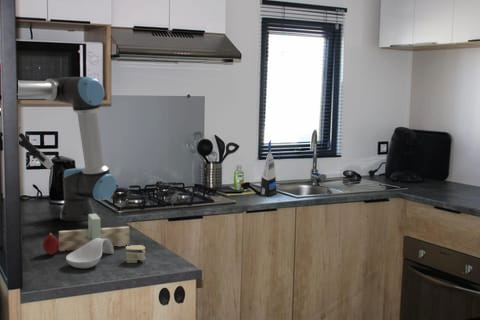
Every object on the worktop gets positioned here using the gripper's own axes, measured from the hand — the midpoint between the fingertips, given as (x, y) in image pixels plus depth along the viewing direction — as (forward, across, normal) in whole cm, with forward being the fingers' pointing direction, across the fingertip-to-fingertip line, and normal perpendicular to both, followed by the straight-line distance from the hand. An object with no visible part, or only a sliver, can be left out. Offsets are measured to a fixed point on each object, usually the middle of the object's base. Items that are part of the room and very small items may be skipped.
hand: (49, 164), depth 244 cm
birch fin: (+32, +15, -12) cm, 37 cm away
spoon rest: (+29, +33, -15) cm, 46 cm away
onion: (+20, +20, -23) cm, 36 cm away
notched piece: (+32, +15, -12) cm, 37 cm away
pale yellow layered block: (+39, +38, -5) cm, 55 cm away
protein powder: (+114, -73, +67) cm, 151 cm away
